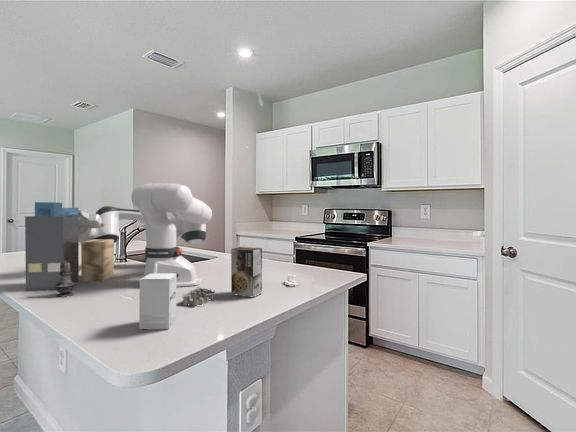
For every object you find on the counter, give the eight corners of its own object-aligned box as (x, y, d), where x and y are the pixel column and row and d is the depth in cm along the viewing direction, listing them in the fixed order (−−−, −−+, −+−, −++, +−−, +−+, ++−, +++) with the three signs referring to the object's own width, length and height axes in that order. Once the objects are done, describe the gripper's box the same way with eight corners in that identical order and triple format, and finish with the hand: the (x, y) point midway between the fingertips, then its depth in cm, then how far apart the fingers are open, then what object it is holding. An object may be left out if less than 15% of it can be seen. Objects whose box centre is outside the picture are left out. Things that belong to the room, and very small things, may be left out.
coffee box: (262, 293, 115) (263, 247, 115) (253, 298, 109) (253, 250, 109) (240, 290, 119) (241, 246, 119) (230, 294, 113) (230, 248, 113)
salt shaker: (80, 293, 113) (79, 258, 112) (66, 297, 107) (66, 261, 106) (64, 292, 113) (63, 257, 113) (50, 297, 107) (49, 260, 107)
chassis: (78, 281, 129) (78, 215, 128) (63, 289, 117) (63, 216, 116) (44, 282, 127) (43, 215, 126) (25, 290, 115) (24, 216, 114)
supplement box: (169, 329, 81) (169, 278, 80) (138, 330, 80) (138, 278, 80) (177, 319, 88) (177, 272, 88) (148, 319, 88) (148, 272, 87)
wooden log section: (113, 274, 142) (113, 239, 142) (103, 281, 131) (103, 242, 130) (93, 275, 141) (93, 239, 140) (81, 281, 129) (81, 242, 129)
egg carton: (199, 308, 99) (199, 295, 99) (179, 305, 101) (178, 292, 101) (217, 299, 109) (217, 287, 108) (198, 296, 111) (198, 285, 111)
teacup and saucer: (294, 288, 124) (294, 278, 124) (276, 286, 128) (276, 275, 128) (305, 284, 131) (305, 274, 131) (288, 281, 136) (288, 272, 136)
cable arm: (81, 214, 137) (81, 202, 137) (53, 216, 116) (53, 202, 116) (65, 214, 136) (65, 202, 136) (34, 216, 115) (34, 202, 114)
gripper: (104, 233, 144) (93, 218, 132) (52, 233, 140) (36, 218, 128) (107, 220, 147) (96, 205, 135) (56, 220, 143) (41, 204, 131)
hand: (67, 211), depth 132 cm, fingers open, 8 cm apart
